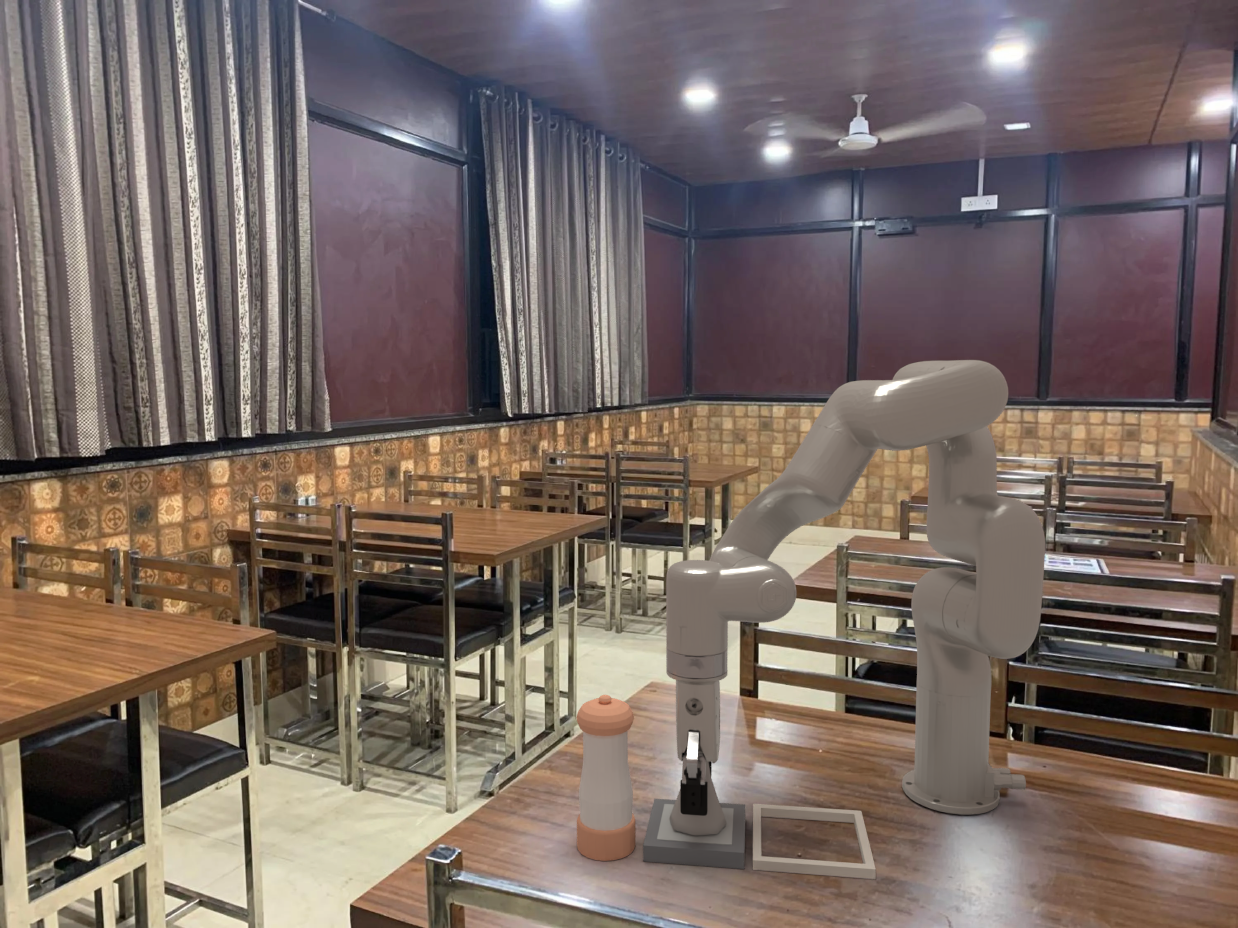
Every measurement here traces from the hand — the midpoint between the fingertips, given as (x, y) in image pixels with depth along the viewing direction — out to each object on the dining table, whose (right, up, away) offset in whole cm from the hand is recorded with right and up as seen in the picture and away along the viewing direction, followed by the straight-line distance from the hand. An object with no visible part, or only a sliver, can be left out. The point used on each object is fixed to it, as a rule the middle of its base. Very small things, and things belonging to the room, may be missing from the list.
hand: (696, 794), depth 110 cm
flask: (0, -4, 0) cm, 4 cm away
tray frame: (+14, -6, -1) cm, 15 cm away
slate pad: (0, -6, +1) cm, 6 cm away
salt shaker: (-11, -6, -1) cm, 13 cm away
